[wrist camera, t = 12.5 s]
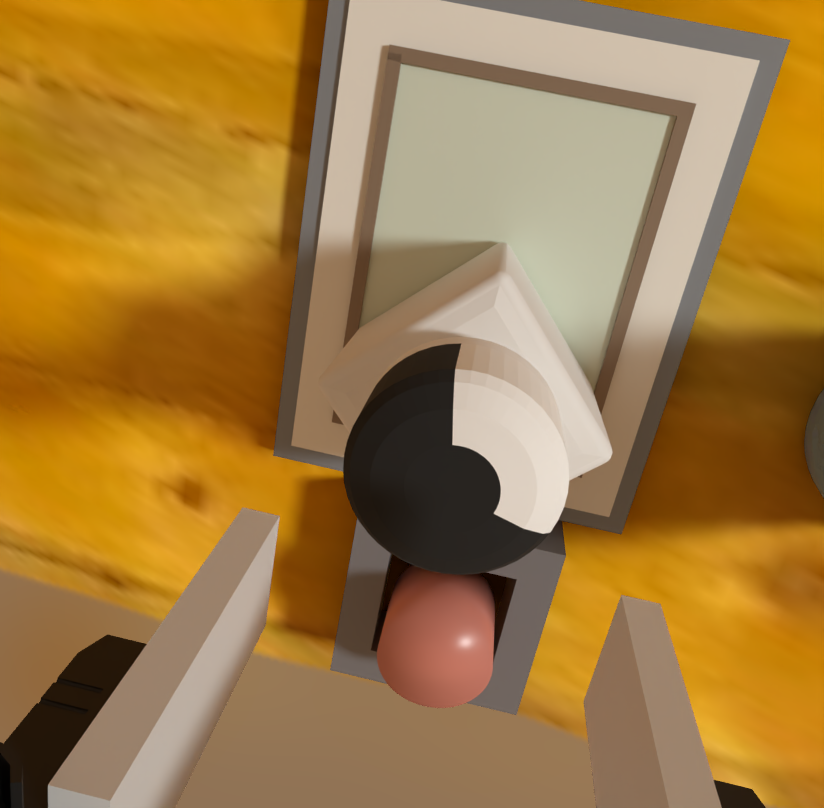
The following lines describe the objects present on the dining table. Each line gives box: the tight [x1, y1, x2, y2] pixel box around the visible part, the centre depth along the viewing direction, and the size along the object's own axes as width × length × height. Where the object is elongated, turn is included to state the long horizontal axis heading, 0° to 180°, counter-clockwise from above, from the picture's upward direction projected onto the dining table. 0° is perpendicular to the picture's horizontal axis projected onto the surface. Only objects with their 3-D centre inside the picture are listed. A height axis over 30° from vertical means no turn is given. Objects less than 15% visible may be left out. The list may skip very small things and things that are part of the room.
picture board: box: [273, 0, 790, 534], centre depth 29 cm, size 16×20×2 cm
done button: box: [377, 565, 495, 708], centre depth 32 cm, size 5×5×4 cm
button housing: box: [330, 518, 566, 715], centre depth 34 cm, size 9×9×3 cm
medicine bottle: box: [318, 242, 613, 575], centre depth 24 cm, size 7×7×12 cm
